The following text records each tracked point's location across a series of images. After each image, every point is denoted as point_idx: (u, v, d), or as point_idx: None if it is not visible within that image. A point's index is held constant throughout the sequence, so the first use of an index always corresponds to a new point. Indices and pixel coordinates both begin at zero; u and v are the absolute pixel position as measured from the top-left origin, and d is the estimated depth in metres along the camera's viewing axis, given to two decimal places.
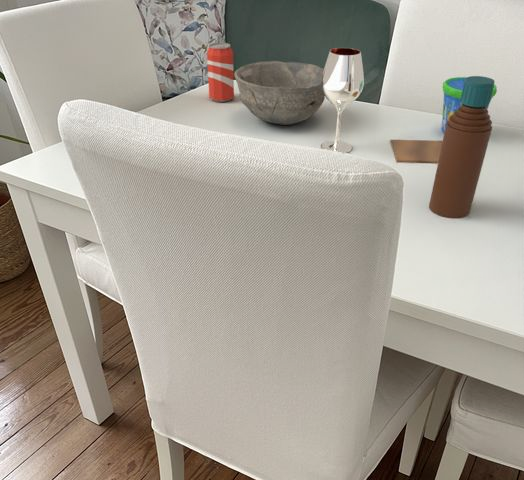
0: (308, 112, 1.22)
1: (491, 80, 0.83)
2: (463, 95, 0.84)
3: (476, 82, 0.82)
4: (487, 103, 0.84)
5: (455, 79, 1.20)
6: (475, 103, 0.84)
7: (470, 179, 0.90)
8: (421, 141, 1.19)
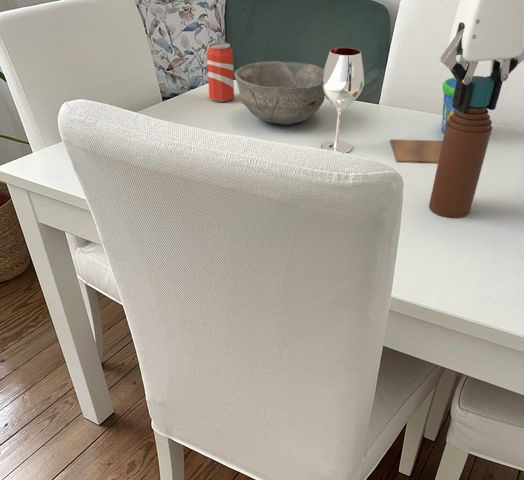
0: (308, 112, 1.22)
1: (491, 80, 0.83)
2: None
3: (476, 82, 0.82)
4: (487, 103, 0.84)
5: None
6: (475, 103, 0.84)
7: (470, 179, 0.90)
8: (421, 141, 1.19)
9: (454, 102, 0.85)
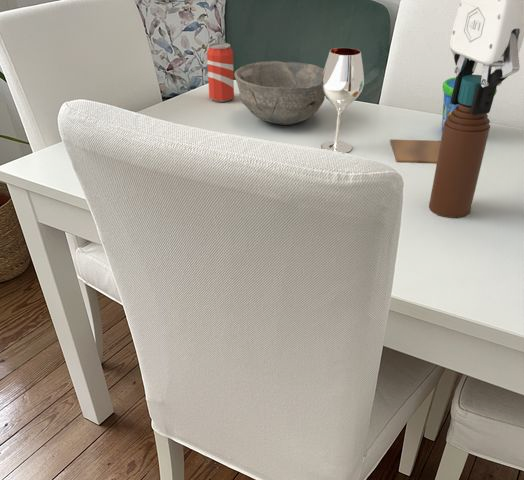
0: (308, 112, 1.22)
1: (474, 75, 0.84)
2: None
3: None
4: None
5: (455, 79, 1.20)
6: None
7: (470, 178, 0.90)
8: (421, 141, 1.19)
9: (484, 108, 0.83)
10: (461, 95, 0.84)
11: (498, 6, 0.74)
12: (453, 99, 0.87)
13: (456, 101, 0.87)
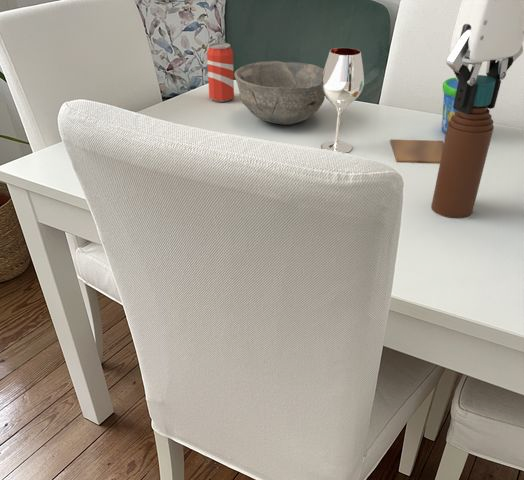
0: (308, 112, 1.22)
1: None
2: (487, 98, 0.83)
3: (492, 79, 0.83)
4: None
5: (455, 79, 1.20)
6: None
7: (473, 179, 0.90)
8: (421, 141, 1.19)
9: (457, 104, 0.84)
10: None
11: None
12: None
13: None
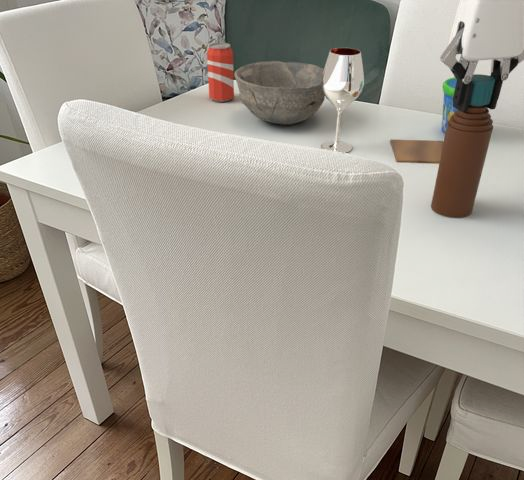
0: (308, 112, 1.22)
1: None
2: None
3: (482, 75, 0.84)
4: None
5: (455, 79, 1.20)
6: None
7: (473, 178, 0.90)
8: (421, 141, 1.19)
9: (454, 101, 0.85)
10: (486, 97, 0.83)
11: None
12: None
13: None
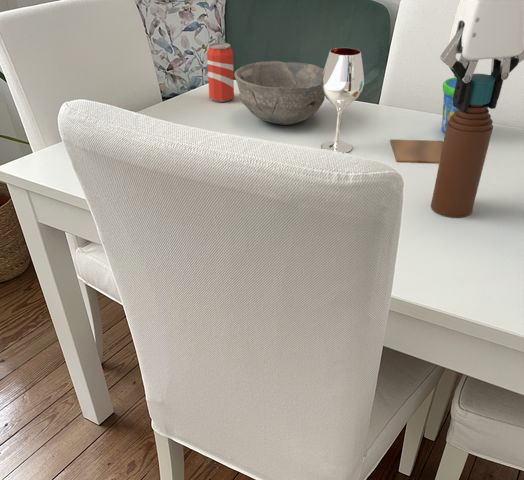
0: (308, 112, 1.22)
1: (485, 80, 0.82)
2: None
3: None
4: (472, 101, 0.84)
5: (455, 79, 1.20)
6: None
7: (473, 178, 0.90)
8: (421, 141, 1.19)
9: (454, 101, 0.85)
10: None
11: None
12: None
13: None
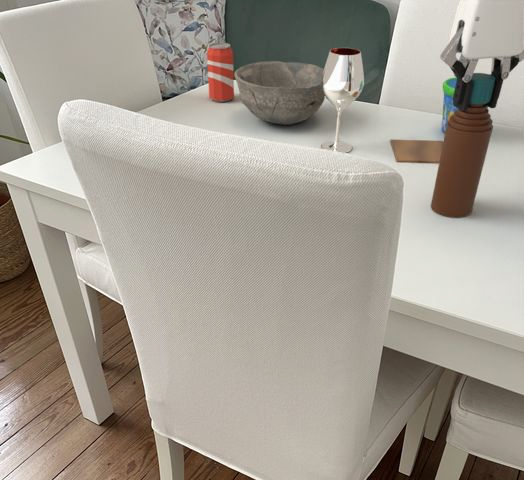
0: (308, 112, 1.22)
1: (490, 76, 0.83)
2: None
3: (480, 79, 0.82)
4: (490, 99, 0.84)
5: (455, 79, 1.20)
6: (481, 100, 0.83)
7: (473, 178, 0.90)
8: (421, 141, 1.19)
9: (454, 100, 0.84)
10: None
11: None
12: None
13: None
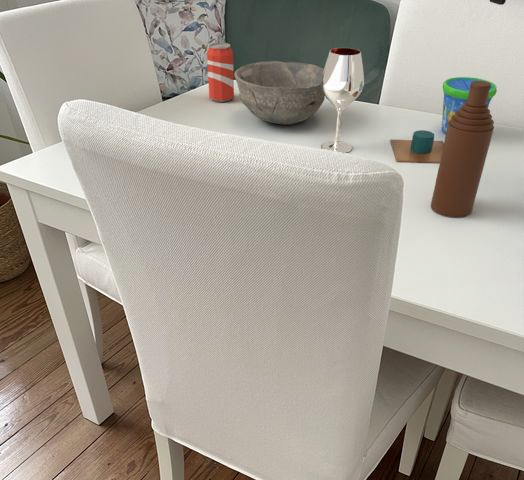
0: (308, 112, 1.22)
1: (416, 134, 1.13)
2: None
3: (424, 131, 1.14)
4: None
5: (455, 79, 1.20)
6: None
7: (473, 178, 0.90)
8: None
9: None
10: (429, 147, 1.13)
11: None
12: None
13: None
